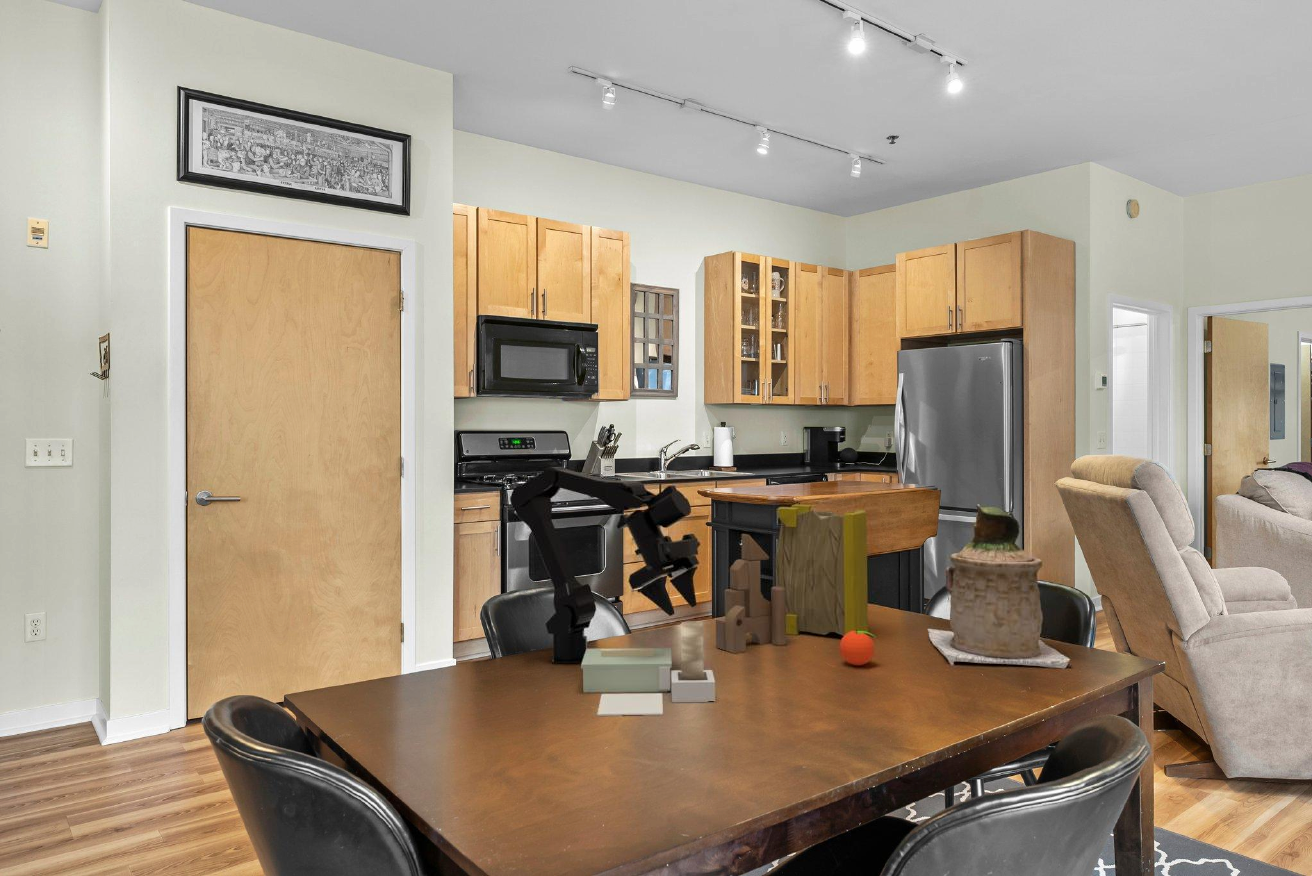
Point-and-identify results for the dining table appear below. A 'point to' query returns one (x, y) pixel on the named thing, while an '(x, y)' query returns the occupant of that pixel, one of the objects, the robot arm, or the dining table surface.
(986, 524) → the cookie jar
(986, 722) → the dining table surface
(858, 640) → the clementine
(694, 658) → the beige cylinder
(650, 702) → the mat
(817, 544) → the decorative book
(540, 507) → the robot arm
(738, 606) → the wooden toy
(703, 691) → the pale green box
